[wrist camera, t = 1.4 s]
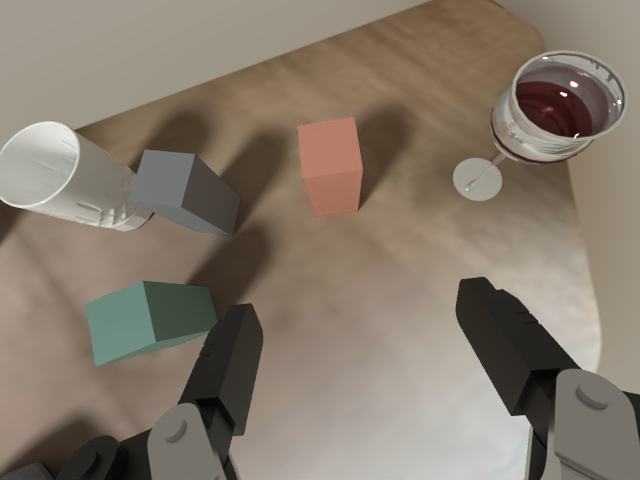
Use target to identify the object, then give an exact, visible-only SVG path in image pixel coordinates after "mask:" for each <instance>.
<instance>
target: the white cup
mask: <svg viewBox="0 0 640 480" xmlns="http://www.w3.org/2000/svg"><path fill="white" fill-rule="evenodd" d="M136 175H137V174H135V173H134V172H133V171H132V170H131V169H130V168H128V167H127V166H125V165H124V164H123V163H121V162H120V161H118V160H117V159H115V158H114V157H113V156H111V155H110V154H109V153H107V152H106V151H104V150H103V149H101V148H100V147H98V146H97V145H95V144H94V143H92V142H91V141H89V140H88V139H86V138H85V137H83V136H82V135H80V134H79V133H77V132H76V131H74V130H73V129H72V128H70V127H69V126H67V125H65V124H63V123H60V122H56V121H43V122H38V123H35V124H32V125H30V126H27V127H26V128H24V129H22V130H21V131H19V132H18V133H16V134H15V135H14V136H13V137H12V138H11V139H10V140H9V141H8V142H7V143H6V144H5V145H4V147H3V148H2V150H1V151H0V199H1V200H2V201H3V202H5V203H7V204H8V205H11V206H14V207H18V208H22V209H26V210H30V211H34V212H38V213H43V214H47V215H51V216H55V217H59V218H63V219H66V220H71V221H76V222H80V223H84V224H89V225H93V226H98V227H106V228H110V229H114V230H120V231H125V232H126V231H129V230H133V229H137V228H139V227H140V226H141V225H142V224H144V223H145V222H146V221H148V220H149V218H150V216H151V214H152V213H153V212H152V211H150V210H147V209H145V208H143V207H141V206H139V205H136V204H134V203H132V202H130V201H128V200H129V197H130V194H131V191H132V188H133V184H134V181H135V178H136Z"/></svg>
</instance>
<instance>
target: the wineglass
mask: <svg viewBox="0 0 640 480" xmlns="http://www.w3.org/2000/svg"><path fill="white" fill-rule="evenodd" d="M628 108H629V93H628V90H627V88H626V86H625V83H624V81H623V79H622V77H620V75H619V74H618V73H617V72H616V71H615V70H614V69H613V67H612V66H610V65H608V64H607V63H605V62H604V61H602V60H601V59H599V58H597V57H594V56H592V55H589V54H586V53H582V52H579V51H567V50H559V51H552V52H546V53H543V54H541V55H539V56H536V57H534V58H532V59H530V60H529V61H528V62H527V63H525V64H524V65H523V66H522V67H521V68H520V69H519V71H518V73H517V74H516V76H515V78H514V80H513V82H512V83H511V84H509V85H508V86H507V87H506V88H505V89H504V90H503V91H501V93H500V95H499V97H498V99H497V101H496V102H495V104H494V106H493V108H492V110H491V115H490V122H489V131H490V135H491V139H492V141H493V142H494V144H495V145H496V147H497V148H498V149H499V150H500V151H501V152H500V153H499V154H498V155H497V156H496V157H495V158H494V159H493V161H492V162H490V161H487V160H485V159H481V158H470V159H467V160H464V161H462V162H461V163H460V164H459V165H457V167H456V168H455V170H454V173H453V182H454V186H455V187H456V189H457V191H458V192H459V193H460V194H461V195H463V196H464V197H466V198H468V199H470V200H475V201H484V200H488V199H490V198H493V197H494V196H495V195H496V194H497V193H498V192H499V191H500V189H501V187H502V176H501V173H500V171H499V170H498V168H497V167H496V165H497V164H499V163H500V162H501V161H502V160H504V159H505V158H506V157H509V158H511V159H513V160H515V161H518V162H520V163H524V164H531V165H542V164H550V163H557V162H561V161H564V160H566V159H568V158H571V157H573V156H575V155H577V154H578V153H580V152H582V151H583V150H584V149H585V148H586V147H588V146H589V145H590V144H591V143H592V142H593V141H594V140H595V139H596V138H598V137H601V136H603V135H605V134H607V133H610V132H611V131H612V130H614V129H615V128H616V127H617V126H618V125H619V124H620V123H621V122H622V121H623V119H624V117H625V115H626V112H627V110H628Z"/></svg>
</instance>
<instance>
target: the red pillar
mask: <svg viewBox="0 0 640 480" xmlns="http://www.w3.org/2000/svg"><path fill="white" fill-rule="evenodd" d="M297 128H298V137H299V147H300V157H301V166H302V176H303V180H304V183H305V186H306V189H307V192H308V194H309V197H310V200H311V203H312V205H313V208H314V211H315V214H316V217H321V216H328V215H335V214H343V213H350V212H357V211H358V205H359V197H360V189H361V181H362V173H363V167H362V161H361V154H360V148H359V142H358V136H357V130H356V124H355V118H354V117H351V118H344V119H338V120H332V121H326V122H320V123H313V124H307V125H301V126H297Z"/></svg>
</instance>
